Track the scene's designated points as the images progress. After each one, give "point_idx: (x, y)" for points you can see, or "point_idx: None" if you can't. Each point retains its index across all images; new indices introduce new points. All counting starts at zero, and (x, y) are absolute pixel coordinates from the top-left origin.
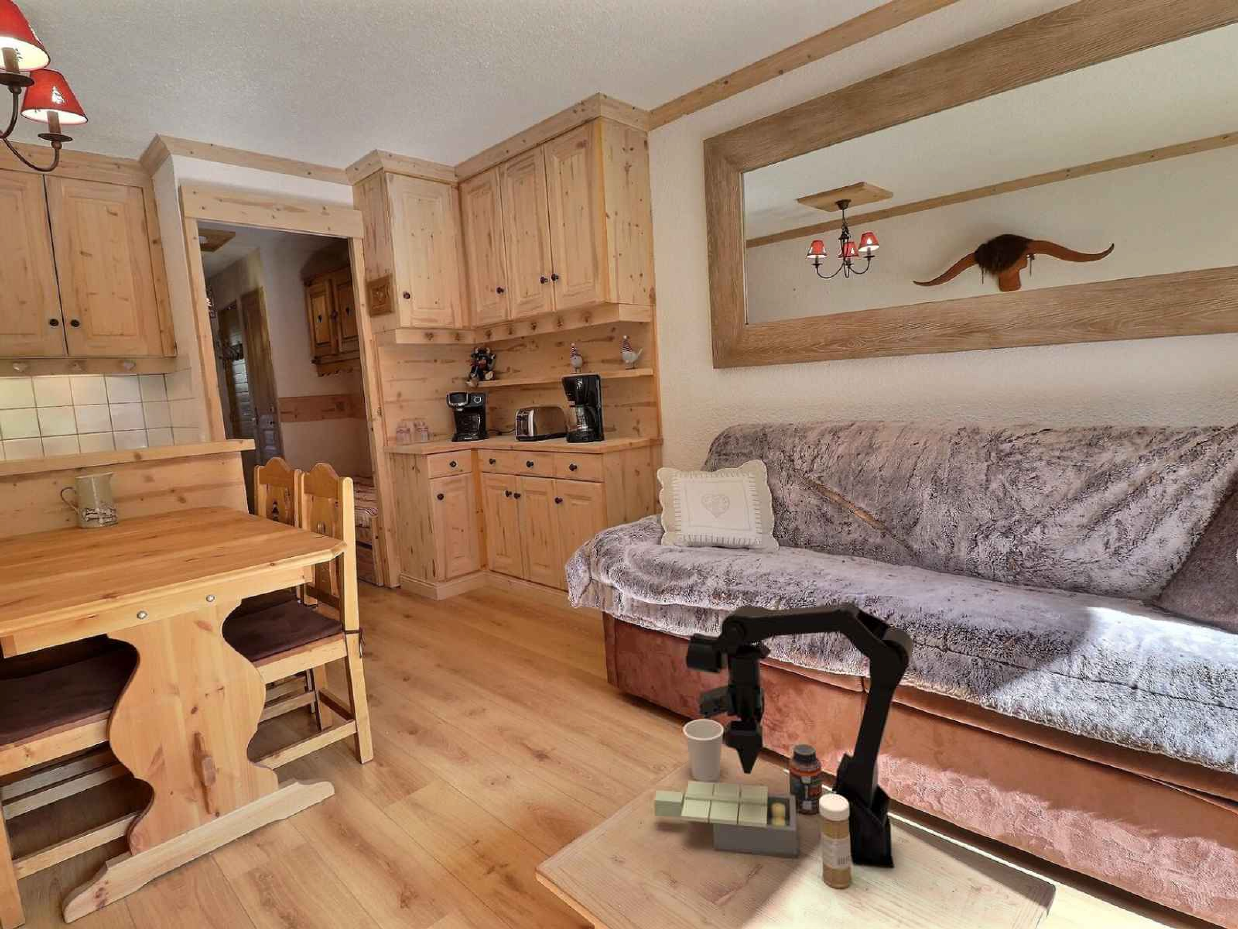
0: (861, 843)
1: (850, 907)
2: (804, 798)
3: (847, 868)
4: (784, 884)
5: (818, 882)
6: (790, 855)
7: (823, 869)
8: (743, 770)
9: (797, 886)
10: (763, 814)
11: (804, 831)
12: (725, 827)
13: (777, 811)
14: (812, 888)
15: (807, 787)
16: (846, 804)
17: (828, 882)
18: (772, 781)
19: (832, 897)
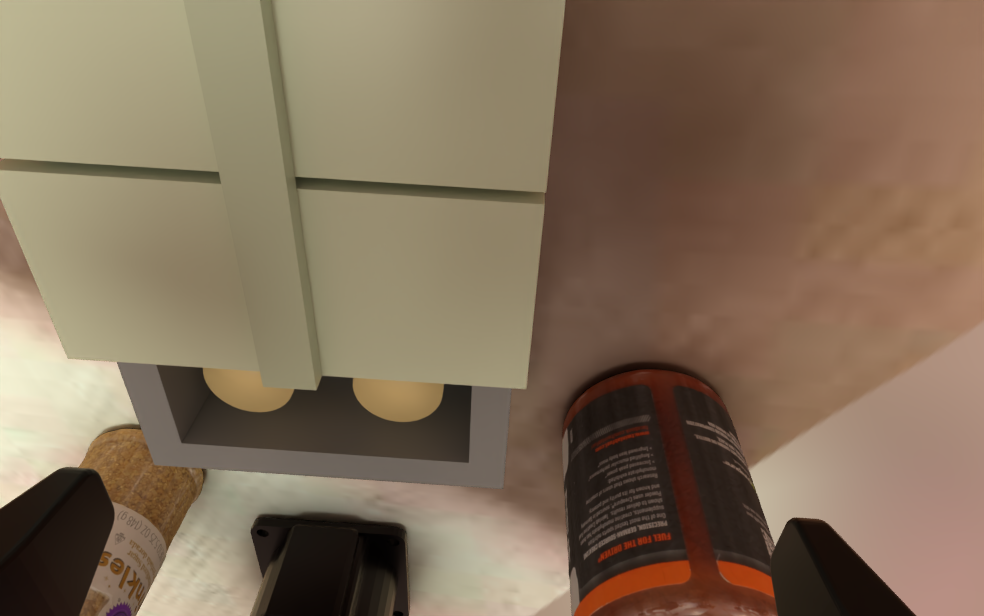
0: (254, 611)
1: (25, 477)
2: (568, 482)
3: None
4: (19, 288)
5: (104, 407)
6: None
7: (96, 464)
8: (12, 502)
9: (36, 336)
10: (157, 348)
11: None
12: None
13: (355, 381)
14: (56, 385)
15: (568, 555)
16: None
17: (90, 447)
18: (916, 289)
19: (44, 438)
